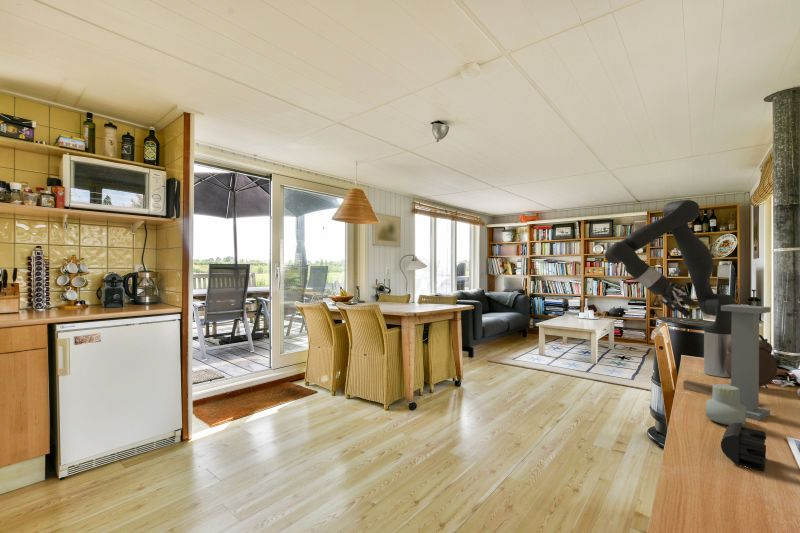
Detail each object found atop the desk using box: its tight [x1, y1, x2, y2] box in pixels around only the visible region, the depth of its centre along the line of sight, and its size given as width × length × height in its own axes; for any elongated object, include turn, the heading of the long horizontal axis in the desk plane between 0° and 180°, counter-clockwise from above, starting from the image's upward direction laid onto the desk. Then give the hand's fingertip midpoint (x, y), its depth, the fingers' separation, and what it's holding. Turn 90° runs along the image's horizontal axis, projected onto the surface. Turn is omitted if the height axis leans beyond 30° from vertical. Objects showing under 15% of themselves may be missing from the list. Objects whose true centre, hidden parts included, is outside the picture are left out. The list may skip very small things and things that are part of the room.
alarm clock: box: [725, 333, 778, 389], centre depth 142 cm, size 15×7×20 cm, turn 84°
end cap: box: [720, 423, 767, 473], centre depth 87 cm, size 10×7×7 cm
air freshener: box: [705, 383, 747, 426], centre depth 108 cm, size 11×8×10 cm
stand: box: [721, 304, 772, 422], centre depth 116 cm, size 9×9×32 cm
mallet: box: [682, 379, 731, 397], centre depth 132 cm, size 6×16×4 cm, turn 31°
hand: (691, 309), depth 144 cm, fingers open, 8 cm apart
